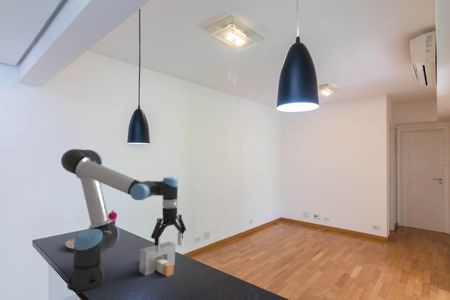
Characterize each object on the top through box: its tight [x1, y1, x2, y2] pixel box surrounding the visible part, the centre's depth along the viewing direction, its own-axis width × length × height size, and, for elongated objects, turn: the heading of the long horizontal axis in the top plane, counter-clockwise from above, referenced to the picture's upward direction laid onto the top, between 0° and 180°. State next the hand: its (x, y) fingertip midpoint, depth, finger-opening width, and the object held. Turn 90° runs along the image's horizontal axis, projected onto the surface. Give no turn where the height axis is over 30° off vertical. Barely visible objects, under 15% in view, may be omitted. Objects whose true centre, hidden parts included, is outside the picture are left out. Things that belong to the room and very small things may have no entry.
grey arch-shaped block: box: [138, 241, 176, 276], centre depth 133 cm, size 6×18×12 cm, turn 138°
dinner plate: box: [64, 237, 75, 250], centre depth 164 cm, size 27×27×3 cm
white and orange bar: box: [155, 256, 175, 277], centre depth 133 cm, size 24×4×5 cm, turn 48°
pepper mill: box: [108, 209, 118, 226], centre depth 183 cm, size 7×7×20 cm
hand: (169, 248), depth 127 cm, fingers open, 13 cm apart
